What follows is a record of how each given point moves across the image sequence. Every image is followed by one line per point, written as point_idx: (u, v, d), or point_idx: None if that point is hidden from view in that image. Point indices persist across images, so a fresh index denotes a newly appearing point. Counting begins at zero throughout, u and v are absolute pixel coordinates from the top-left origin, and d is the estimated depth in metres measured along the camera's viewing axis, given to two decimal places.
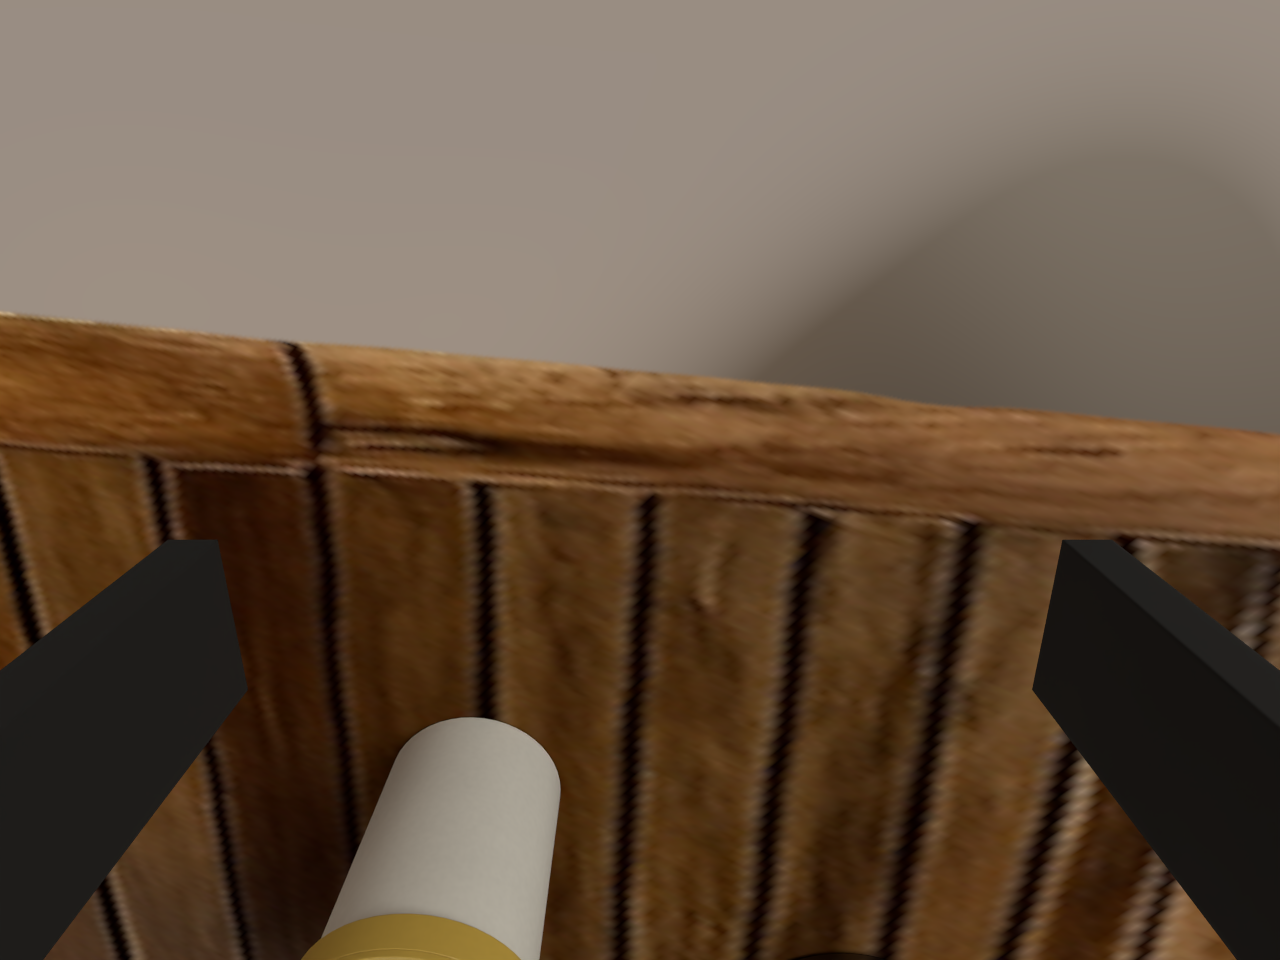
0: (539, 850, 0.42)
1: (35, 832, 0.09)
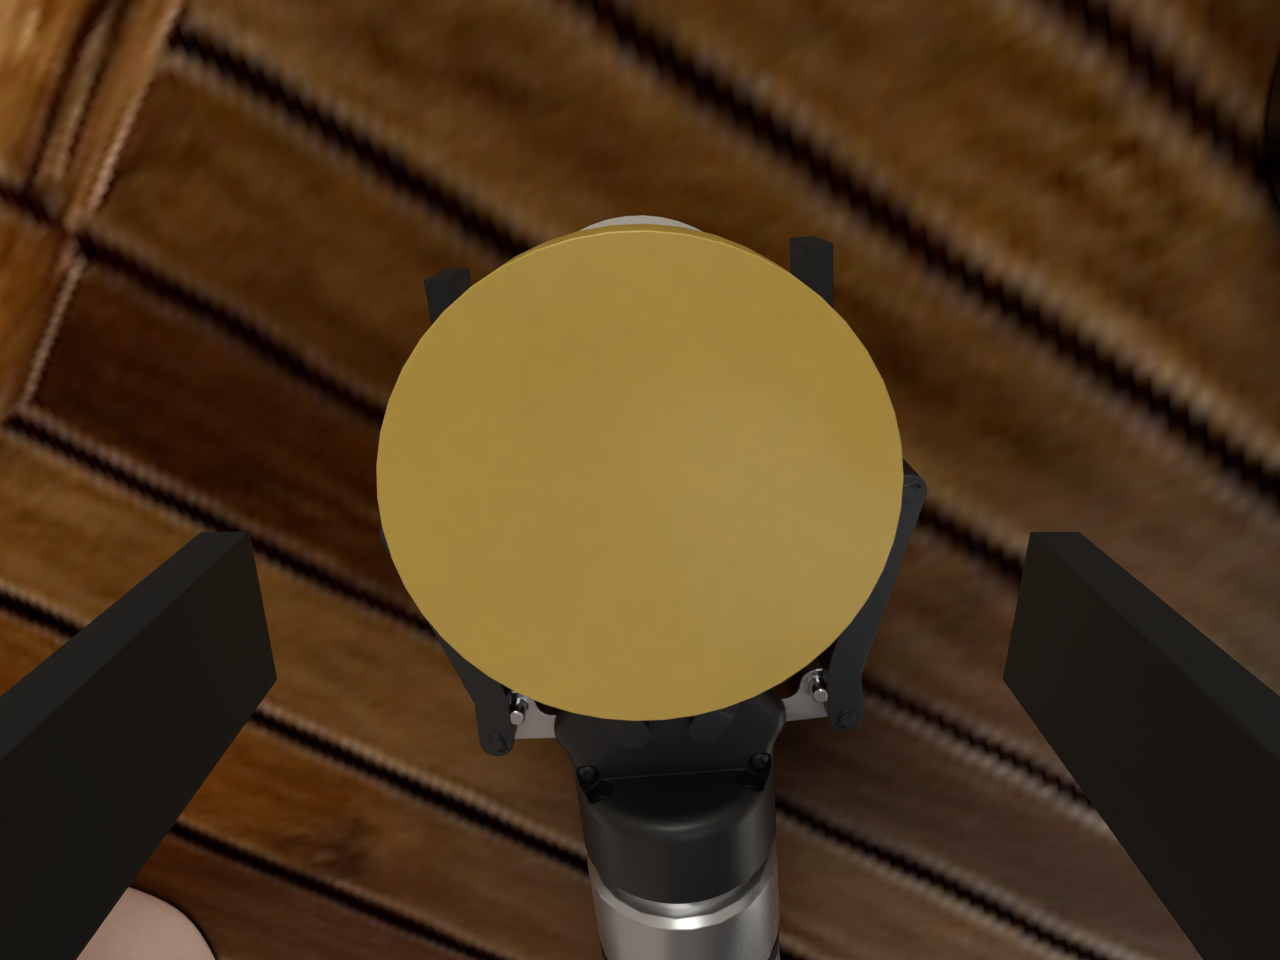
0: None
1: (86, 812, 0.09)
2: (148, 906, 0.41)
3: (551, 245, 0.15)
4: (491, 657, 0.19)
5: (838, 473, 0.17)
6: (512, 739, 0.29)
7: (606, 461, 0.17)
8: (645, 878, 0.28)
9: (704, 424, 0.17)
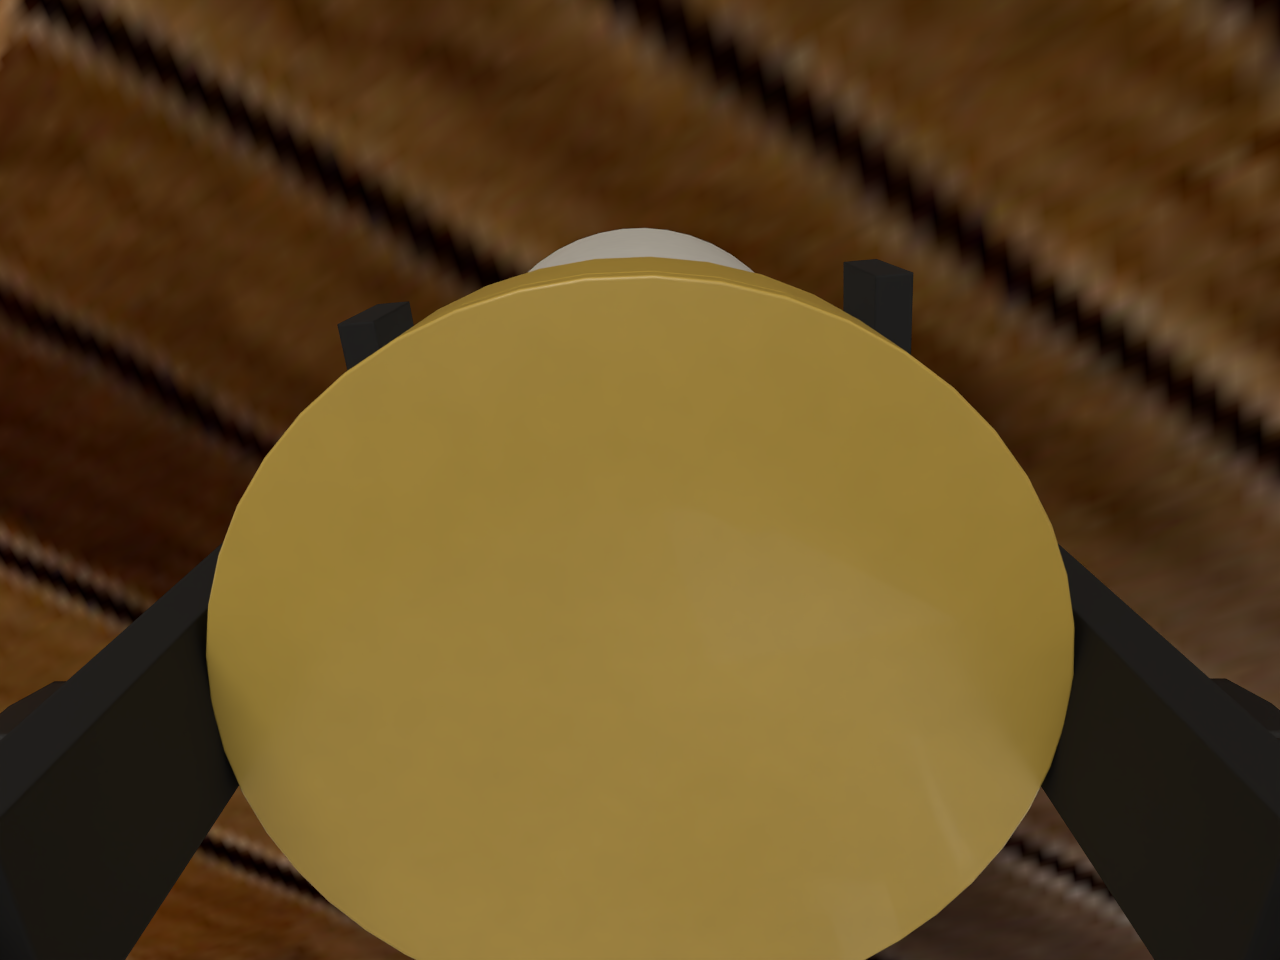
0: (670, 250, 0.17)
1: (153, 788, 0.09)
2: None
3: (484, 301, 0.09)
4: (408, 929, 0.12)
5: (967, 669, 0.10)
6: None
7: (584, 650, 0.10)
8: None
9: (748, 594, 0.10)
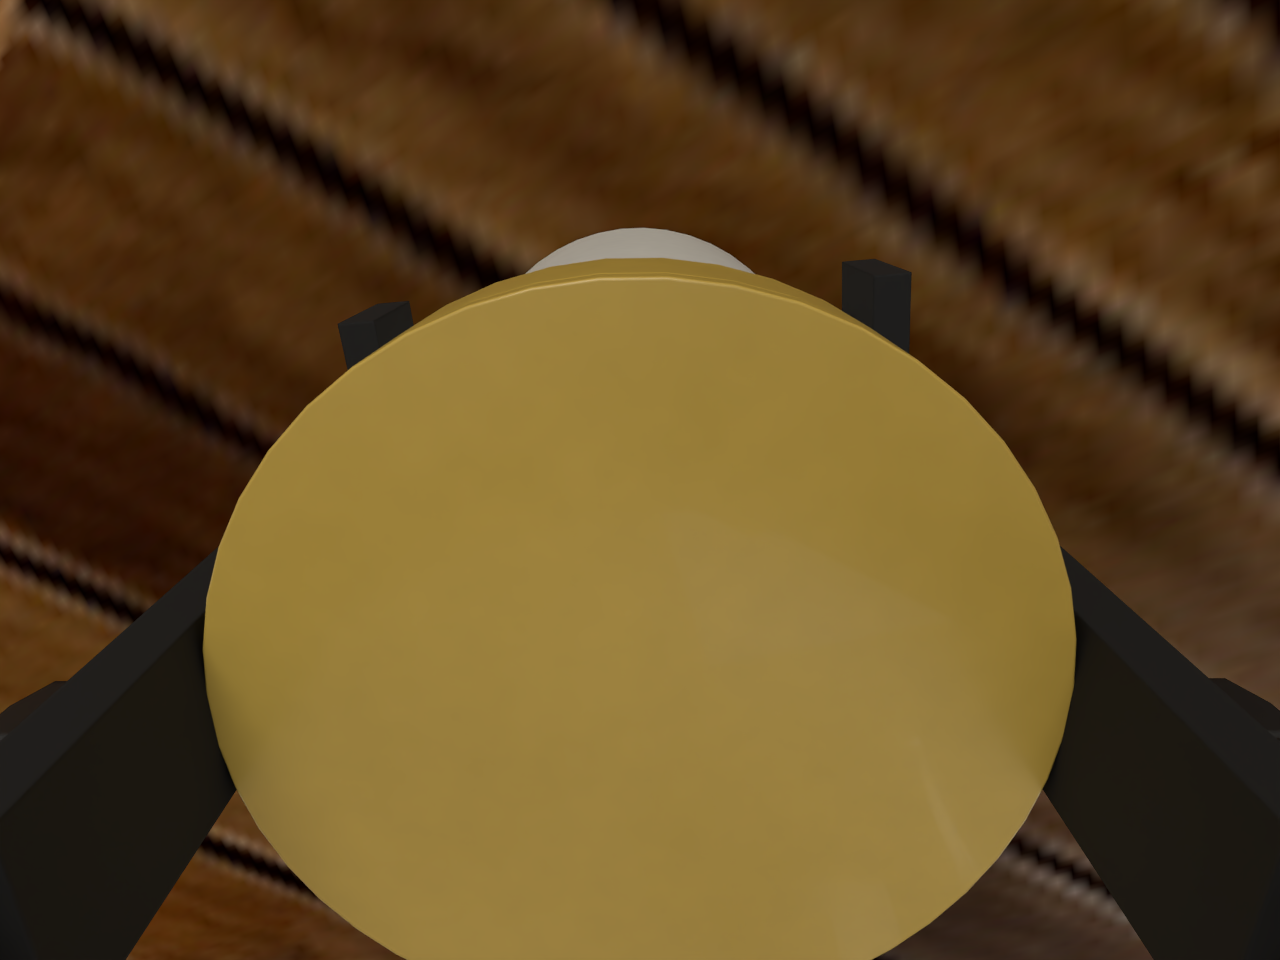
0: (669, 250, 0.17)
1: (154, 787, 0.09)
2: None
3: (228, 766, 0.11)
4: (859, 940, 0.12)
5: (637, 401, 0.09)
6: None
7: (559, 750, 0.11)
8: None
9: (515, 609, 0.10)
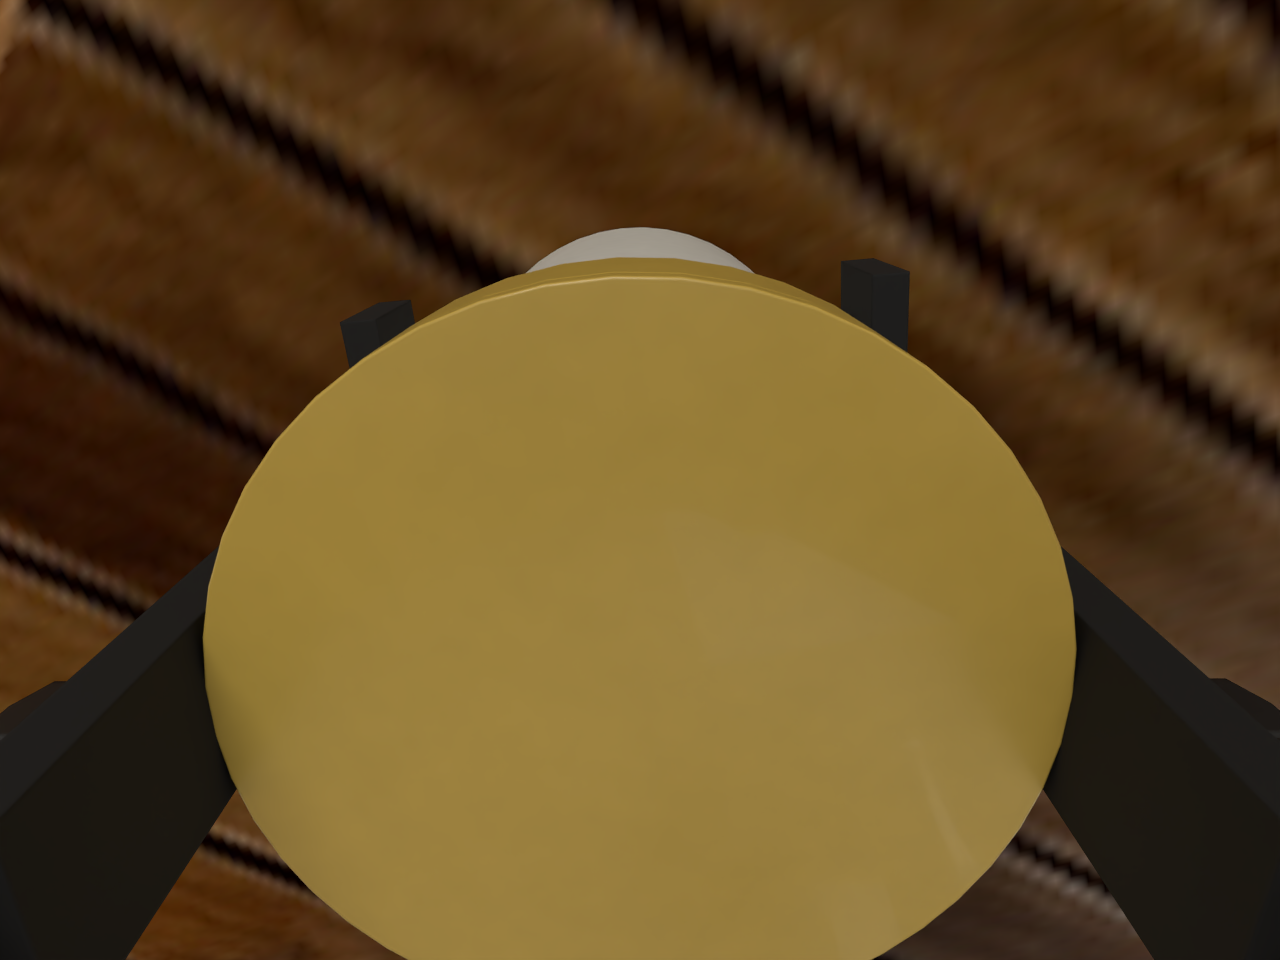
0: (669, 249, 0.17)
1: (153, 788, 0.09)
2: None
3: None
4: (1012, 536, 0.10)
5: (311, 674, 0.10)
6: None
7: (666, 786, 0.11)
8: None
9: (506, 794, 0.11)
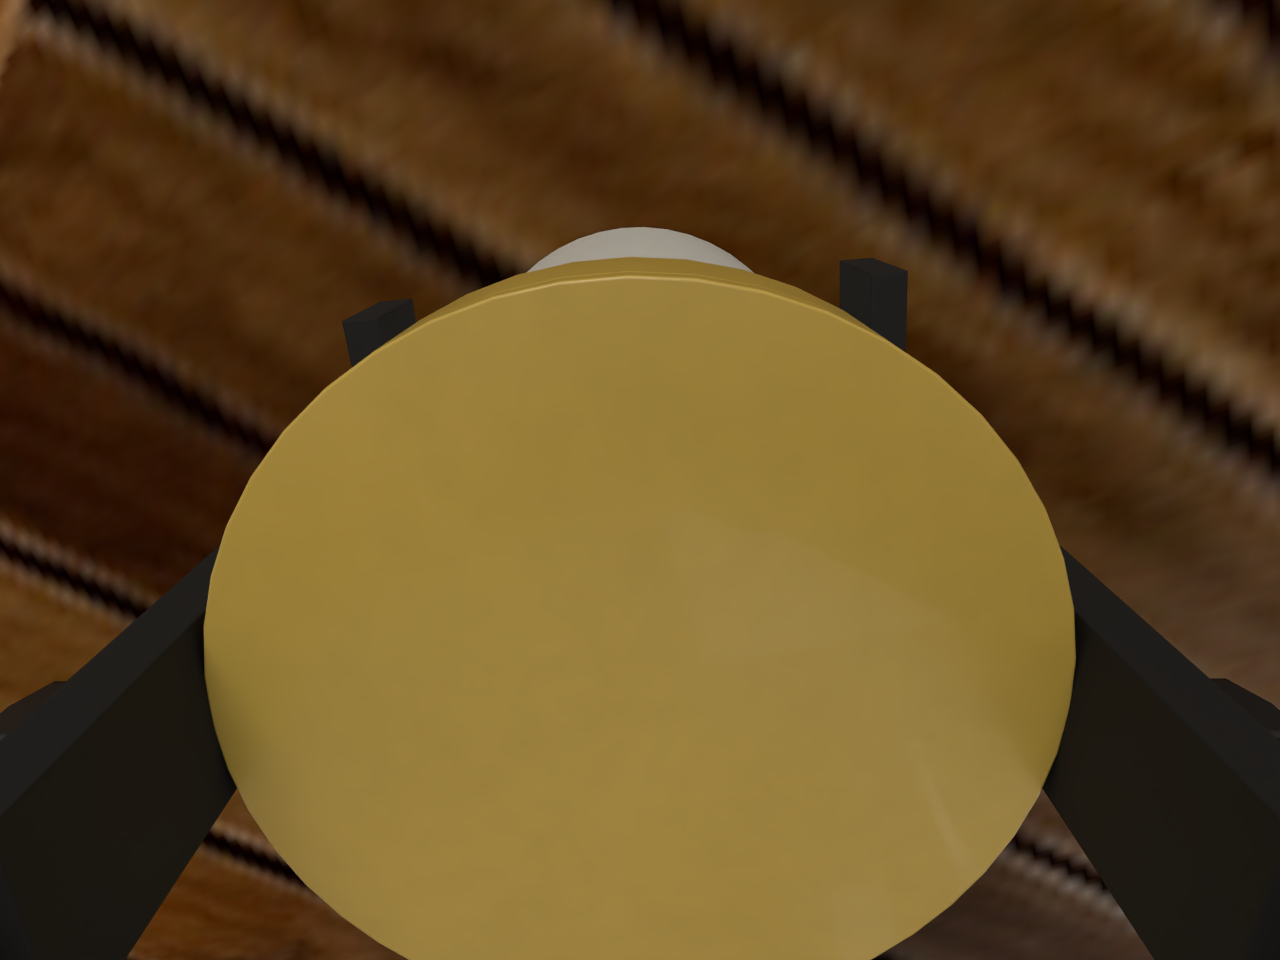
0: (669, 249, 0.18)
1: (153, 788, 0.09)
2: None
3: (1047, 771, 0.11)
4: (471, 351, 0.09)
5: (552, 943, 0.12)
6: None
7: (730, 704, 0.10)
8: None
9: (709, 835, 0.11)
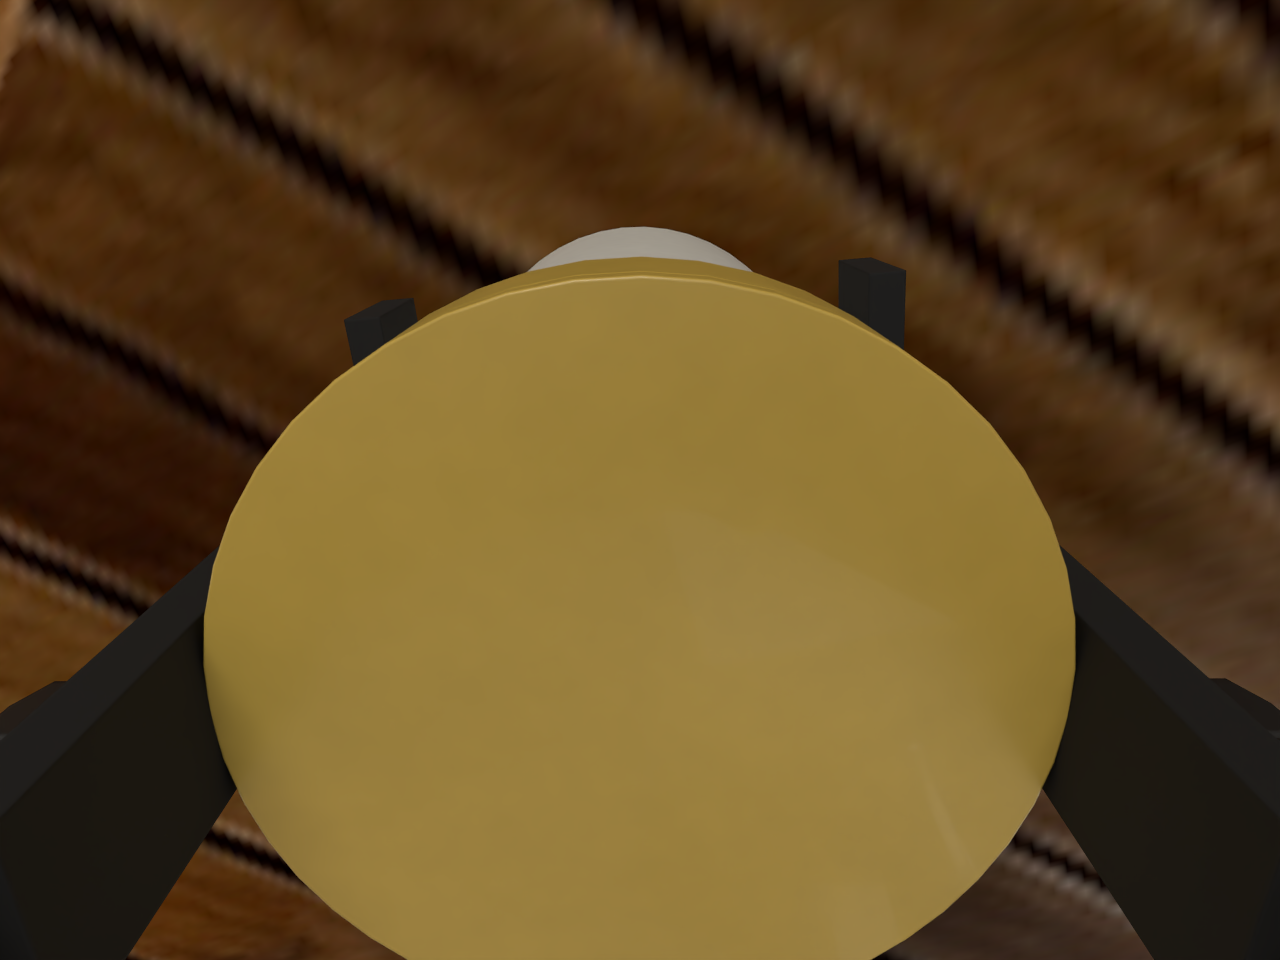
0: (669, 248, 0.18)
1: (153, 788, 0.09)
2: None
3: (805, 305, 0.09)
4: (267, 781, 0.11)
5: (912, 831, 0.11)
6: None
7: (640, 637, 0.10)
8: None
9: (805, 674, 0.10)
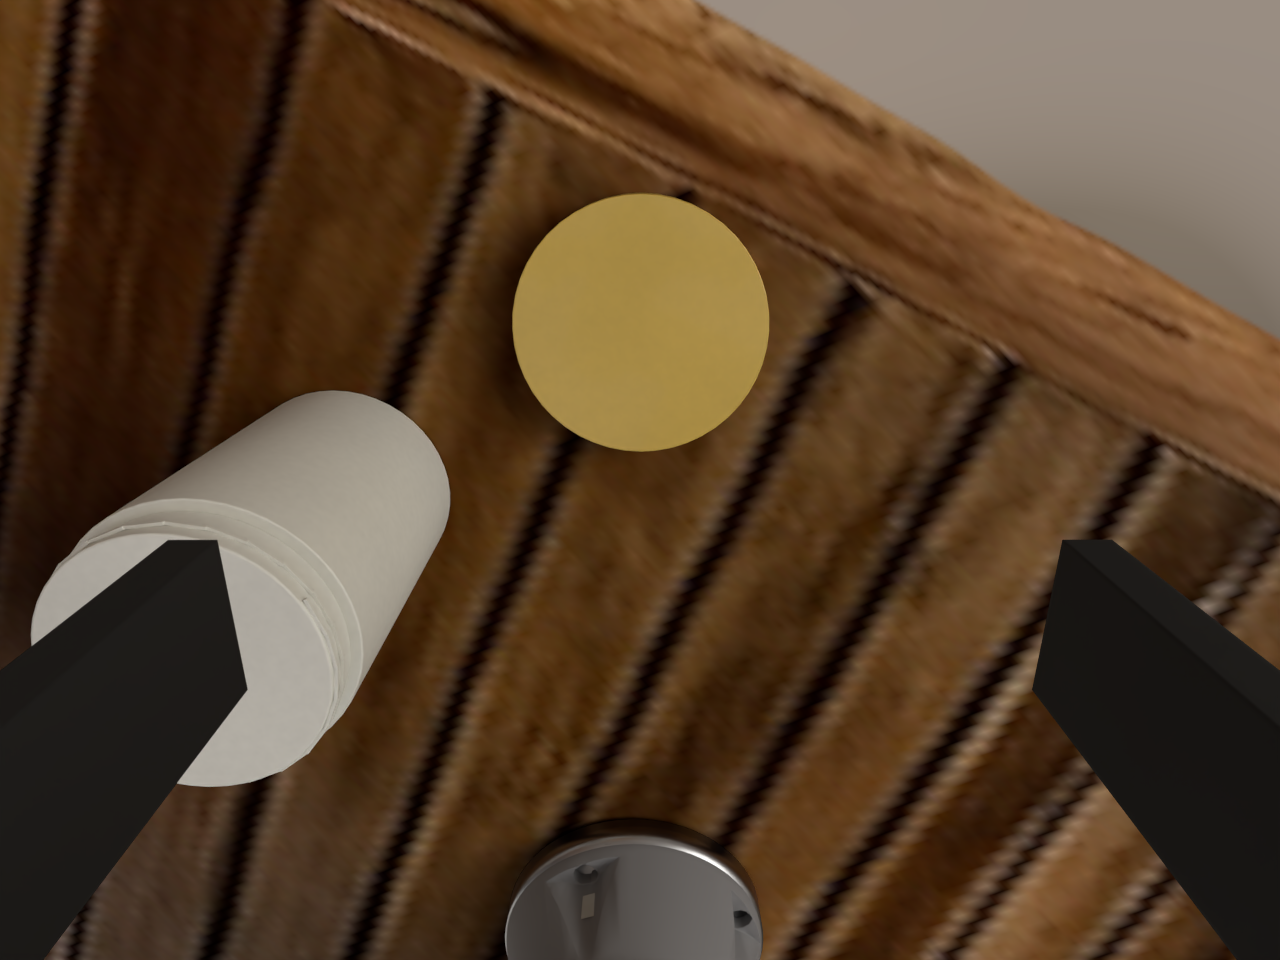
0: (413, 548, 0.34)
1: (35, 833, 0.09)
2: None
3: (683, 201, 0.33)
4: (526, 354, 0.36)
5: (725, 373, 0.36)
6: None
7: (640, 302, 0.35)
8: None
9: (689, 315, 0.35)
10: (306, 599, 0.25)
